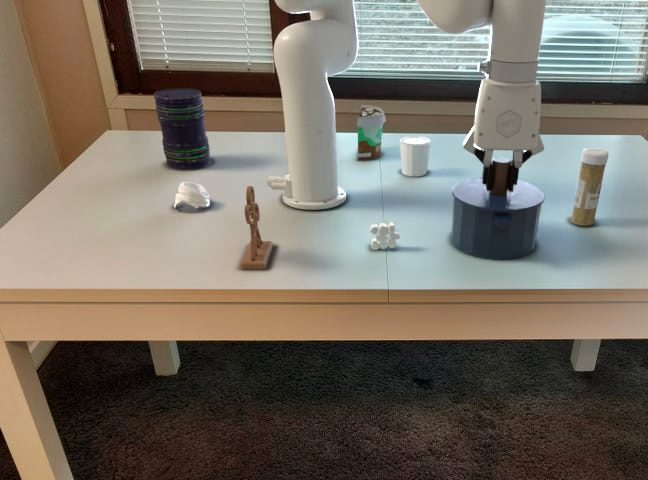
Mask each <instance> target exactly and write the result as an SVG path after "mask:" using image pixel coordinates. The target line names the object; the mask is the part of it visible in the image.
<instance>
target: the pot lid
mask: <svg viewBox="0 0 648 480" xmlns="http://www.w3.org/2000/svg"><path fill="white" fill-rule="evenodd" d="M511 160H512V159H510V158H508V157H503V156H497V157H493V158H492V160H491V161H492V166H493V175H492V185H491V190H490V191H486V187H485V184H482V176H481V177H480V176H479V177H473V178H467V179H464V180H461V181H459V182H457V183H455V184H454V186H453V187H452V189H451V194H452V197H453V199H454V198H455V199H456V200H457V201H458V202H460V203H462V204H464V205H466V206H469V207H472V208H475V209H479V210H484V211H491V212H522V211H527V210H531V209H534V208H536V207H538V206H540V205H541V206H542V205H543V204H544V202H545V199H546V195H545V192H544V191H543V190H542V189H541V188H539V187H538V186H536V185H534V184H533V183H530V182H527V181H523V180H520V179H518V181H517V185H514V186H513V192H509V191H508V182H509V173H510V165H511Z"/></svg>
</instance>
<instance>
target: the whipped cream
mask: <svg viewBox="0 0 648 480" xmlns="http://www.w3.org/2000/svg"><path fill="white" fill-rule="evenodd" d="M177 190H178V193H176V194H175V202H174V204H173V207H174V209H175V210H177V209H178V207H180V206H181V204H182V203H184V204H187V205H189V206H191V207H193V208H194V209H199V208H200V207H201V208H208V207H209V206H210V204H211V203H210V194H209V193H208V191H207V190H206V189H205V187H204V186H202V185H201V184H199V183H195V182H192V181H182V182H180V184H179V185H178V188H177Z"/></svg>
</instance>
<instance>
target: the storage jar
mask: <svg viewBox="0 0 648 480" xmlns="http://www.w3.org/2000/svg"><path fill="white" fill-rule="evenodd" d="M153 99H154V100H155V101H154V102H155V112H156V114H157V121H158V122H159V124H160V129H161V134H162V140H161V142H162V146H163V149H162V150H163V154H164V157H165V159H166V163H165V164H166V166H167V167H168V168H169V169H173V170H178V171H192V170H198V169H202V168H206V167H208V166H209V165H211V163H212V159H211V157H210V156H211V152H210V150H211V148H210V144H209V137H208V136H207V132H206V126H205V120H206V117H205V116H206V115H205V112H204V111H205V108H204V107H205V106H204V103H203V99H202V91H201V90H200V89H199V90H198V89H196V88H187V87H174V88H173V87H172V88H165V89H161V90H160V89H159V90H157V91H155V92H154V93H153Z"/></svg>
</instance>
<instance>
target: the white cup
mask: <svg viewBox="0 0 648 480" xmlns="http://www.w3.org/2000/svg"><path fill="white" fill-rule="evenodd" d="M431 144H432V141H431V140H430V139H429V138H426V137H422V136H405V137H402V138H400V139H399V151H400V164H401V174H402V175H404V176H407V177H422V176H426V175H427V173H428V165H429V159H430V152H431Z"/></svg>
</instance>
